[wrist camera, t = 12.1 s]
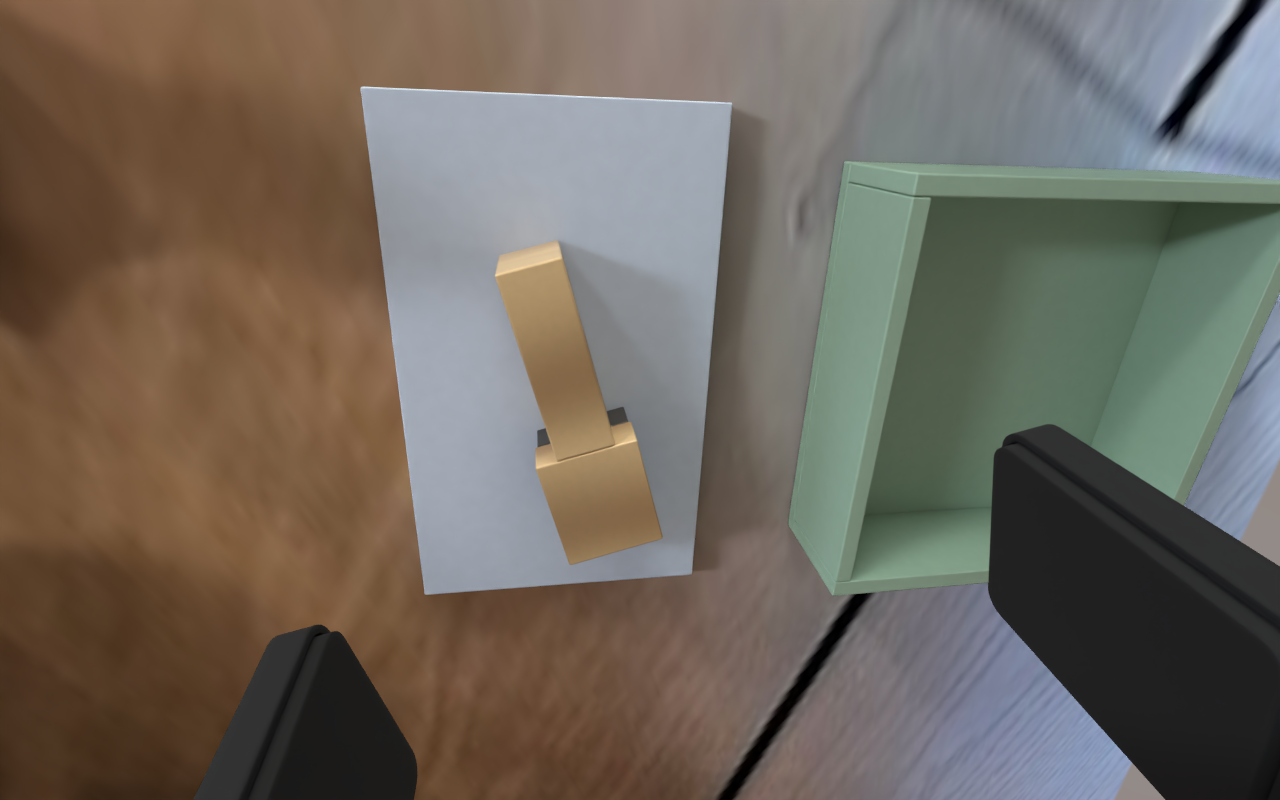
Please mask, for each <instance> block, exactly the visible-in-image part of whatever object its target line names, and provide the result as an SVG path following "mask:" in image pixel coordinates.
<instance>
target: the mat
mask: <svg viewBox="0 0 1280 800" xmlns="http://www.w3.org/2000/svg"><path fill="white" fill-rule="evenodd" d="M361 95H362V103H363V111H364V119H365V127H366V135H367V142H368V150H369V158H370V166H371V174H372V182H373V190H374V198H375V205H376V213H377V221H378V229H379V237H380V245H381V253H382V261H383V268H384V276H385V284H386V292H387V300H388V308H389V316H390V324H391V331H392V339H393V347H394V355H395V363H396V371H397V379H398V387H399V394H400V402H401V410H402V418H403V426H404V434H405V442H406V449H407V457H408V465H409V473H410V481H411V489H412V497H413V505H414V512H415V520H416V528H417V536H418V544H419V552H420V560H421V568H422V575H423V583H424V591H425V595H430V594H443V593H456V592H469V591H482V590H495V589H508V588H522V587H535V586H548V585H561V584H574V583H587V582H600V581H613V580H627V579H640V578H653V577H666V576H679V575H691V574H692V567H693V555H694V544H695V532H696V520H697V509H698V497H699V486H700V474H701V462H702V451H703V439H704V427H705V416H706V404H707V393H708V381H709V369H710V358H711V346H712V334H713V323H714V311H715V300H716V288H717V276H718V265H719V253H720V241H721V230H722V218H723V207H724V195H725V183H726V172H727V160H728V148H729V137H730V125H731V114H732V103H723V102H701V101H678V100H655V99H632V98H609V97H586V96H564V95H541V94H518V93H495V92H472V91H449V90H427V89H404V88H381V87H361ZM552 241H559V243H560V247H561V250H562V254H563V257H564V261H565V265H566V268H567V272H568V275H569V279H570V282H571V286H572V289H573V293H574V296H575V300H576V304H577V307H578V311H579V314H580V318H581V321H582V325H583V328H584V332H585V335H586V339H587V343H588V346H589V350H590V353H591V357H592V360H593V364H594V367H595V371H596V374H597V378H598V382H599V385H600V389H601V392H602V396H603V399H604V403H605V406H606V410H607V411H609V410H613V409H616V408H620V407H624V409H625V412H626V415H627V419H628V422H631V423H632V426H633V429H634V432H635V435H636V438H637V441H638V444H639V448H640V452H641V456H642V460H643V463H644V467H645V471H646V475H647V479H648V482H649V486H650V490H651V494H652V497H653V501H654V505H655V509H656V513H657V516H658V520H659V524H660V528H661V532H662V535H663V538H662V539H660V540H656V541H653V542H649V543H646V544H643V545H639V546H636V547H632V548H629V549H625V550H622V551H618V552H615V553H611V554H608V555H604V556H601V557H598V558H594V559H591V560H587V561H584V562H580V563H577V564H573V565H570V564H569V562H568V559H567V557H566V554H565V551H564V548H563V545H562V543H561V540H560V537H559V534H558V531H557V528H556V526H555V523H554V520H553V517H552V514H551V511H550V509H549V506H548V503H547V500H546V497H545V494H544V492H543V489H542V486H541V483H540V480H539V478H538V475H537V472H536V466H535V448H537V431H538V430H541V429H544V428H545V425H544V422H543V419H542V416H541V413H540V410H539V407H538V404H537V401H536V398H535V395H534V392H533V389H532V386H531V383H530V380H529V377H528V374H527V371H526V368H525V365H524V362H523V359H522V356H521V353H520V351H519V348H518V345H517V342H516V339H515V336H514V333H513V330H512V327H511V324H510V321H509V318H508V315H507V312H506V309H505V306H504V303H503V300H502V297H501V294H500V291H499V288H498V285H497V282H496V279H495V273H496V268H497V263H498V258H499V256H500V255H503V254H507V253H511V252H514V251H518V250H522V249H526V248H530V247H533V246H537V245H541V244H545V243H549V242H552Z"/></svg>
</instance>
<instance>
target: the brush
mask: <svg viewBox="0 0 1280 800" xmlns="http://www.w3.org/2000/svg"><path fill="white" fill-rule="evenodd" d="M495 279H496V282H497V285H498V288H499V291H500V294H501V297H502V300H503V303H504V306H505V309H506V312H507V315H508V318H509V321H510V324H511V327H512V330H513V333H514V336H515V339H516V342H517V345H518V348H519V351H520V353H521V356H522V359H523V362H524V365H525V368H526V371H527V374H528V377H529V380H530V383H531V386H532V389H533V392H534V395H535V398H536V401H537V404H538V407H539V410H540V413H541V416H542V419H543V422H544V425H545V428H544V429H541V430H538V431H537V448H535V466H536V472H537V475H538V478H539V480H540V483H541V486H542V489H543V492H544V494H545V497H546V500H547V503H548V506H549V509H550V511H551V514H552V517H553V520H554V523H555V526H556V528H557V531H558V534H559V537H560V540H561V543H562V545H563V548H564V551H565V554H566V557H567V559H568V562H569V564H570V565H573V564H577V563H580V562H584V561H587V560H591V559H594V558H598V557H601V556H604V555H608V554H611V553H615V552H618V551H622V550H625V549H629V548H632V547H636V546H639V545H643V544H646V543H649V542H653V541H656V540H660V539H662V538H663V535H662V532H661V528H660V524H659V520H658V516H657V513H656V509H655V505H654V501H653V497H652V494H651V490H650V486H649V482H648V479H647V475H646V471H645V467H644V463H643V460H642V456H641V452H640V448H639V444H638V441H637V438H636V435H635V432H634V429H633V426H632V423H631V422H628V419H627V415H626V412H625V409H624V407H620V408H616V409H613V410H609V411H607V410H606V406H605V403H604V399H603V396H602V392H601V389H600V385H599V382H598V378H597V374H596V371H595V367H594V364H593V360H592V357H591V353H590V350H589V346H588V343H587V339H586V335H585V332H584V328H583V325H582V321H581V318H580V314H579V311H578V307H577V304H576V300H575V296H574V293H573V289H572V286H571V282H570V279H569V275H568V272H567V268H566V265H565V261H564V257H563V254H562V250H561V247H560V243H559V241H552V242H549V243H545V244H541V245H537V246H533V247H530V248H526V249H522V250H518V251H514V252H511V253H507V254H503V255H500V256H499V258H498V263H497V268H496V273H495Z"/></svg>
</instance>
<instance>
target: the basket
mask: <svg viewBox="0 0 1280 800" xmlns="http://www.w3.org/2000/svg"><path fill="white" fill-rule="evenodd" d="M1279 293H1280V180H1278V179H1267V178H1256V177H1245V176H1234V175H1223V174H1212V173H1201V172H1188V171H1154V170H1120V169H1087V168H1053V167H1019V166H986V165H952V164H918V163H885V162H851V161H846V162H844V166H843V173H842V179H841V186H840V192H839V198H838V205H837V211H836V218H835V224H834V231H833V237H832V243H831V250H830V256H829V263H828V269H827V276H826V282H825V288H824V295H823V301H822V308H821V314H820V321H819V327H818V333H817V340H816V346H815V353H814V359H813V365H812V372H811V378H810V385H809V391H808V398H807V404H806V410H805V417H804V423H803V430H802V436H801V443H800V449H799V455H798V462H797V468H796V475H795V481H794V488H793V494H792V500H791V507H790V513H789V520H788V525H789V527H790V528H791V530H792V532H793V533H794V535H795V536H796V538H797V540H798V541H799V543H800V544H801V546H802V548H803V549H804V551H805V552H806V554H807V556H808V557H809V559H810V560H811V562H812V564H813V565H814V567H815V568H816V570H817V572H818V573H819V575H820V576H821V578H822V579H823V581H824V583H825V584H826V586H827V587H828V589H829V591H830V592H831V594H832V595H833V596H837V595H849V594H860V593H872V592H884V591H896V590H908V589H920V588H931V587H943V586H955V585H967V584H979V583H988V579H989V555H990V532H991V509H992V485H993V462H994V454H995V452H996V450H997V449H999V448H1001V447H1002V444H1003V441H1004V439H1005V437H1006V436H1008V435H1010V434H1012V433H1016V432H1020V431H1023V430H1027V429H1031V428H1034V427H1038V426H1042V425H1045V424H1053V425H1056V426H1058V427H1060V428H1062V429H1063V430H1065V431H1066V432H1068V433H1070V434H1071V435H1073V436H1074V437H1076V438H1078V439H1079V440H1081V441H1082V442H1084V443H1085V444H1087V445H1089V446H1090V447H1092V448H1093V449H1095V450H1096V451H1098V452H1100V453H1101V454H1103V455H1104V456H1106V457H1108V458H1109V459H1111V460H1112V461H1114V462H1115V463H1117V464H1119V465H1120V466H1122V467H1123V468H1125V469H1126V470H1128V471H1130V472H1131V473H1133V474H1134V475H1136V476H1138V477H1139V478H1141V479H1142V480H1144V481H1145V482H1147V483H1149V484H1150V485H1152V486H1153V487H1155V488H1156V489H1158V490H1160V491H1161V492H1163V493H1164V494H1166V495H1168V496H1169V497H1171V498H1172V499H1174V500H1175V501H1177V502H1179V503H1180V504H1182V505H1183V506H1184V504H1185V502H1186V499H1187V497H1188V495H1189V493H1190V491H1191V488H1192V486H1193V484H1194V482H1195V480H1196V477H1197V475H1198V473H1199V471H1200V468H1201V466H1202V464H1203V462H1204V460H1205V457H1206V455H1207V453H1208V451H1209V448H1210V446H1211V444H1212V442H1213V440H1214V437H1215V435H1216V433H1217V431H1218V428H1219V426H1220V424H1221V422H1222V420H1223V417H1224V415H1225V413H1226V411H1227V408H1228V406H1229V404H1230V402H1231V400H1232V397H1233V395H1234V393H1235V391H1236V388H1237V386H1238V384H1239V382H1240V380H1241V377H1242V375H1243V373H1244V371H1245V369H1246V366H1247V364H1248V362H1249V360H1250V357H1251V355H1252V353H1253V351H1254V349H1255V346H1256V344H1257V342H1258V340H1259V337H1260V335H1261V333H1262V331H1263V329H1264V326H1265V324H1266V322H1267V320H1268V317H1269V315H1270V313H1271V311H1272V309H1273V306H1274V304H1275V302H1276V300H1277V297H1278V295H1279Z"/></svg>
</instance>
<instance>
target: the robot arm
mask: <svg viewBox="0 0 1280 800" xmlns="http://www.w3.org/2000/svg"><path fill="white" fill-rule="evenodd" d="M988 591H989V595H990V598H991V601H992V603H993V605H994V607H995V609H996V610H997V612H998V613H999V614H1000V615H1001V617H1002V618H1003V619H1004V620H1005V621H1006V622H1007V623H1008V624H1009V626H1010V627H1011V628H1012V629H1013V630H1014V631H1015V632H1016V633H1017V634H1018V636H1019V637H1020V638H1021V639H1022V640H1023V641H1024V642H1025V643H1026V644H1027V646H1028V647H1029V648H1030V649H1031V650H1032V651H1033V652H1034V653H1035V655H1036V656H1037V657H1038V658H1039V659H1040V660H1041V661H1042V662H1043V663H1044V665H1045V666H1046V667H1047V668H1048V669H1049V670H1050V671H1051V672H1052V674H1053V675H1054V676H1055V677H1056V678H1057V679H1058V680H1059V681H1060V682H1061V684H1062V685H1063V686H1064V687H1065V688H1066V689H1067V690H1068V691H1069V693H1070V694H1071V695H1072V696H1073V697H1074V698H1075V699H1076V700H1077V701H1078V703H1079V704H1080V705H1081V706H1082V707H1083V708H1084V709H1085V710H1086V712H1087V713H1088V714H1089V715H1090V716H1091V717H1092V718H1093V719H1094V720H1095V722H1096V723H1097V724H1098V725H1099V726H1100V727H1101V728H1102V729H1103V730H1104V732H1105V733H1106V734H1107V735H1108V736H1109V737H1110V738H1111V739H1112V741H1113V742H1114V743H1115V744H1116V745H1117V746H1118V747H1119V748H1120V749H1121V751H1122V752H1123V753H1124V754H1125V755H1126V756H1127V757H1128V758H1129V760H1130V761H1131V762H1132V763H1133V764H1134V765H1135V766H1136V767H1137V768H1138V770H1139V771H1140V772H1141V773H1142V774H1143V775H1144V776H1145V777H1146V779H1147V780H1148V781H1149V782H1150V783H1151V784H1152V785H1153V786H1154V787H1155V789H1156V790H1157V791H1158V792H1159V793H1160V794H1161V795H1162V796H1163V797H1164V799H1165V800H1280V566H1278V565H1276V564H1275V563H1273V562H1272V561H1270V560H1268V559H1267V558H1265V557H1264V556H1262V555H1261V554H1259V553H1257V552H1256V551H1254V550H1253V549H1251V548H1250V547H1248V546H1246V545H1245V544H1243V543H1242V542H1240V541H1239V540H1237V539H1235V538H1234V537H1232V536H1231V535H1229V534H1228V533H1226V532H1224V531H1223V530H1221V529H1220V528H1218V527H1216V526H1215V525H1213V524H1212V523H1210V522H1209V521H1207V520H1205V519H1204V518H1202V517H1201V516H1199V515H1198V514H1196V513H1194V512H1193V511H1191V510H1190V509H1188V508H1186V507H1185V506H1183V505H1182V504H1180V503H1179V502H1177V501H1175V500H1174V499H1172V498H1171V497H1169V496H1168V495H1166V494H1164V493H1163V492H1161V491H1160V490H1158V489H1156V488H1155V487H1153V486H1152V485H1150V484H1149V483H1147V482H1145V481H1144V480H1142V479H1141V478H1139V477H1138V476H1136V475H1134V474H1133V473H1131V472H1130V471H1128V470H1126V469H1125V468H1123V467H1122V466H1120V465H1119V464H1117V463H1115V462H1114V461H1112V460H1111V459H1109V458H1108V457H1106V456H1104V455H1103V454H1101V453H1100V452H1098V451H1096V450H1095V449H1093V448H1092V447H1090V446H1089V445H1087V444H1085V443H1084V442H1082V441H1081V440H1079V439H1078V438H1076V437H1074V436H1073V435H1071V434H1070V433H1068V432H1066V431H1065V430H1063V429H1062V428H1060V427H1058V426H1056V425H1053V424H1045V425H1042V426H1038V427H1034V428H1031V429H1027V430H1023V431H1020V432H1016V433H1012V434H1010V435H1008V436H1006V437H1005V439H1004V441H1003V444H1002V447H1001V448H999V449H997V450H996V452H995V454H994V462H993V485H992V509H991V532H990V555H989V579H988ZM416 783H417V763H416V759H415V755H414V753H413V750H412V749H411V747H410V745H409V744H408V742H407V740H406V739H405V737H404V735H403V734H402V732H401V731H400V729H399V727H398V726H397V724H396V722H395V721H394V719H393V717H392V716H391V714H390V712H389V711H388V709H387V707H386V706H385V704H384V702H383V701H382V699H381V697H380V696H379V694H378V692H377V691H376V689H375V687H374V686H373V684H372V682H371V681H370V679H369V677H368V676H367V674H366V672H365V671H364V669H363V668H362V666H361V664H360V663H359V661H358V659H357V658H356V656H355V654H354V653H353V651H352V649H351V648H350V646H349V644H348V643H347V641H346V639H345V638H344V636H343V635H342V634H341V633H340V632H338V631H334V632H330V631H329V630H328V629H327V628H326V627H325V626H323V625H314V626H311V627H307V628H304V629H300V630H296V631H293V632H289V633H285V634H282V635H278V636H276V637H275V638H273V639H272V640H271V641H270V643H269V644H268V646H267V648H266V650H265V652H264V654H263V656H262V658H261V660H260V662H259V665H258V667H257V669H256V671H255V673H254V675H253V677H252V679H251V681H250V683H249V685H248V687H247V689H246V692H245V694H244V696H243V698H242V700H241V702H240V704H239V706H238V708H237V710H236V712H235V714H234V716H233V719H232V721H231V723H230V725H229V727H228V729H227V731H226V733H225V735H224V737H223V739H222V741H221V743H220V745H219V748H218V750H217V752H216V754H215V756H214V758H213V760H212V762H211V764H210V766H209V768H208V770H207V772H206V775H205V777H204V779H203V781H202V783H201V785H200V787H199V789H198V791H197V793H196V795H195V797H194V799H193V800H414V795H415V789H416Z"/></svg>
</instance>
